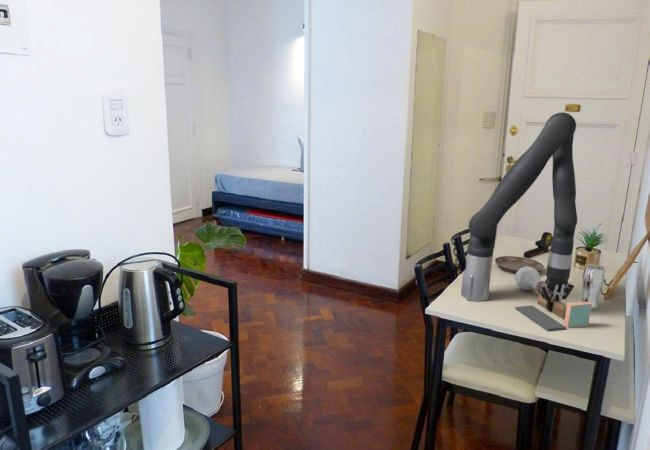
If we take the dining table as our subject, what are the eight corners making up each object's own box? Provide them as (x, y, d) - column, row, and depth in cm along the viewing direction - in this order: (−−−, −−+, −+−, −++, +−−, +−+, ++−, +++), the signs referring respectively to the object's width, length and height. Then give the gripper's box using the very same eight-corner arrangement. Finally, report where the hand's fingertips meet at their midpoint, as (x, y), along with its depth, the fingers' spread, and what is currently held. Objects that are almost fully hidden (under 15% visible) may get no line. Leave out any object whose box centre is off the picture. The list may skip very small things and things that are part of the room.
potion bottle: (518, 287, 205) (544, 305, 192) (505, 276, 201) (530, 294, 188) (533, 269, 205) (560, 286, 191) (520, 258, 200) (546, 275, 187)
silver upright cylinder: (580, 300, 190) (586, 262, 186) (601, 305, 186) (607, 266, 182) (576, 305, 185) (582, 267, 181) (597, 310, 180) (603, 271, 177)
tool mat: (547, 331, 163) (547, 328, 163) (515, 308, 180) (515, 306, 180) (565, 329, 165) (566, 327, 165) (532, 307, 182) (532, 305, 182)
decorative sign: (551, 248, 257) (553, 229, 255) (555, 249, 255) (557, 230, 253) (523, 257, 240) (525, 237, 238) (527, 258, 239) (530, 238, 236)
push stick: (563, 319, 172) (564, 307, 171) (537, 303, 186) (538, 292, 185) (568, 319, 173) (570, 307, 172) (542, 303, 186) (544, 292, 185)
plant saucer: (532, 262, 233) (533, 256, 232) (551, 278, 213) (552, 271, 212) (488, 261, 233) (489, 255, 233) (502, 277, 213) (503, 269, 213)
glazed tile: (568, 328, 166) (571, 305, 164) (563, 325, 168) (566, 303, 166) (588, 326, 168) (592, 304, 166) (583, 323, 170) (587, 301, 168)
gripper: (549, 269, 170) (542, 316, 174) (583, 267, 173) (576, 313, 177) (535, 262, 177) (529, 307, 181) (568, 260, 180) (562, 304, 184)
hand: (552, 310), depth 179 cm, fingers closed on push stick, 2 cm apart
